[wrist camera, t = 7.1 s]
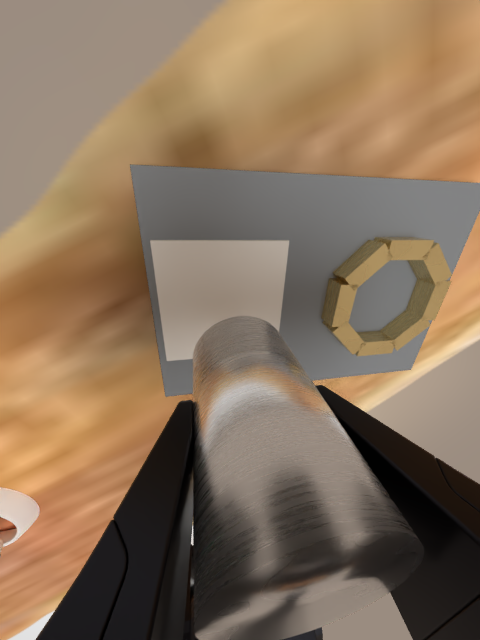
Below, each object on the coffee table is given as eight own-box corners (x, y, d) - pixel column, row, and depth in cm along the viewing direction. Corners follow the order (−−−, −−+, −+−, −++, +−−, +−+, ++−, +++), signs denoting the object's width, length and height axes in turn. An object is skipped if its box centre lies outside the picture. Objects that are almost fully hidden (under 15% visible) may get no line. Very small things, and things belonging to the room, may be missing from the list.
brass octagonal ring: (406, 340, 20) (421, 350, 19) (315, 348, 19) (324, 359, 17) (447, 237, 16) (469, 240, 15) (337, 236, 15) (351, 240, 14)
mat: (275, 349, 18) (276, 351, 18) (167, 358, 17) (166, 361, 16) (287, 240, 14) (289, 240, 14) (151, 239, 13) (150, 240, 13)
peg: (289, 313, 10) (464, 510, 3) (279, 388, 11) (384, 608, 5) (189, 318, 9) (183, 577, 3) (195, 397, 11) (200, 664, 4)
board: (402, 363, 23) (410, 369, 22) (166, 387, 19) (165, 396, 18) (474, 184, 16) (491, 183, 15) (134, 167, 12) (130, 164, 11)
